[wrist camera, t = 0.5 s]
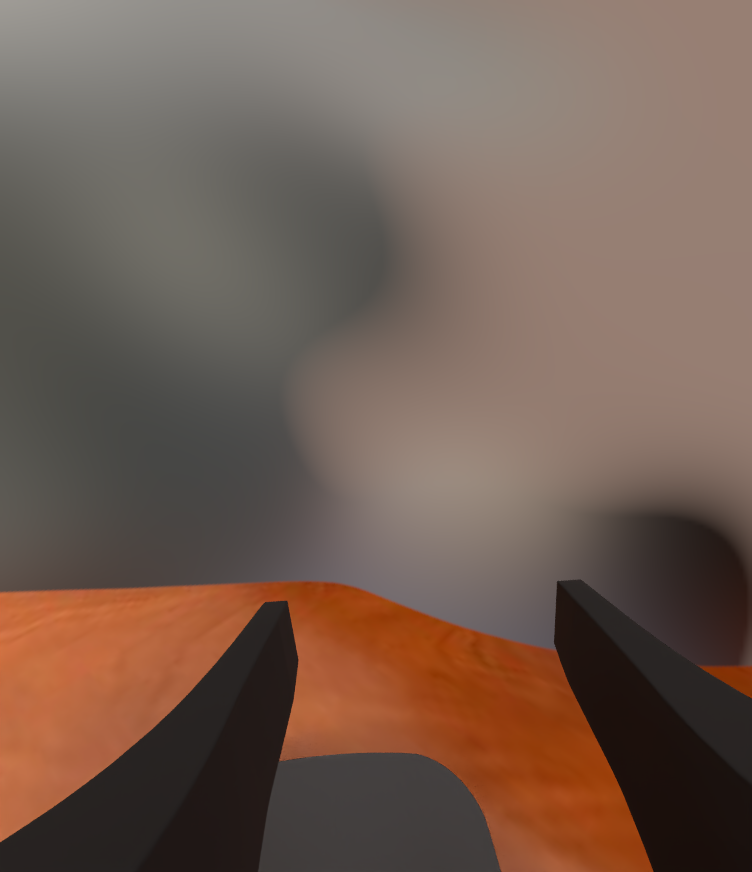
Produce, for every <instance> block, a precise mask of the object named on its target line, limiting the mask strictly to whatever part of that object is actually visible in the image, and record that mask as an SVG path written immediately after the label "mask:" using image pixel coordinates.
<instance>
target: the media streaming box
mask: <svg viewBox="0 0 752 872" xmlns="http://www.w3.org/2000/svg"><path fill="white" fill-rule="evenodd" d="M258 872H501V870H500V867H499V863H498V860H497V856H496V853H495V849H494V846H493V842H492V839H491V836H490V832H489V829H488V826H487V823H486V819H485V817H484V815H483V813H482V810H481V808H480V807H479V805H478V803H477V801H476V800H475V798H474V797H473V795H472V794H471V792H470V791H469V790H468V788H467V787H466V786H465V785H464V784H463V782H462V781H461V780H460V779H459V778H458V777H457V776H456V775H455V774H453V773H452V772H451V771H450V770H449V769H447V768H446V767H444V766H443V765H441V764H440V763H438V762H436V761H434V760H432V759H430V758H428V757H425V756H422V755H419V754H409V753H353V754H337V755H325V756H316V757H307V758H300V759H293V760H286V761H280V762H279V763H278V767H277V771H276V775H275V779H274V783H273V787H272V792H271V796H270V801H269V806H268V811H267V817H266V823H265V830H264V836H263V843H262V849H261V856H260V862H259V870H258Z"/></svg>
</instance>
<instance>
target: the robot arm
mask: <svg viewBox="0 0 752 872" xmlns="http://www.w3.org/2000/svg"><path fill="white" fill-rule="evenodd" d="M554 644H555V647H556V650H557V652H558V655H559V658H560V661H561V664H562V667H563V669H564V672H565V675H566V677H567V680H568V682H569V684H570V686H571V689H572V691H573V693H574V695H575V697H576V699H577V701H578V703H579V705H580V707H581V709H582V711H583V713H584V715H585V717H586V719H587V721H588V723H589V725H590V727H591V729H592V731H593V733H594V735H595V737H596V739H597V741H598V743H599V745H600V747H601V749H602V751H603V753H604V755H605V757H606V759H607V761H608V763H609V765H610V767H611V769H612V771H613V773H614V775H615V777H616V779H617V781H618V784H619V786H620V788H621V790H622V792H623V795H624V797H625V800H626V802H627V805H628V807H629V810H630V812H631V815H632V817H633V820H634V822H635V825H636V827H637V830H638V832H639V835H640V837H641V840H642V842H643V845H644V847H645V850H646V853H647V855H648V858H649V861H650V863H651V866H652V868H653V871H654V872H752V699H751V698H750V697H748V696H746V695H744V694H743V693H741V692H739V691H737V690H736V689H734V688H732V687H731V686H729V685H727V684H726V683H724V682H722V681H721V680H719V679H717V678H716V677H714V676H712V675H711V674H709V673H707V672H706V671H704V670H703V669H701V668H700V667H698V666H696V665H695V664H693V663H692V662H690V661H689V660H687V659H686V658H684V657H683V656H682V655H680V654H679V653H677V652H675V651H674V650H672V649H671V648H670V647H668V646H667V645H665V644H664V643H663V642H661V641H660V640H658V639H657V638H656V637H654V636H653V635H652V634H650V633H649V632H647V631H646V630H645V629H643V628H642V627H641V626H639V625H638V624H637V623H635V622H634V621H633V620H631V619H630V618H629V617H628V616H626V615H625V614H624V613H622V612H621V611H620V610H619V609H617V608H616V607H615V606H614V605H612V604H611V603H610V602H608V601H607V600H606V599H605V598H603V597H602V596H601V595H600V594H598V593H597V592H596V591H595V590H593V589H592V588H591V587H590V586H588V585H587V584H586V583H584V582H583V581H582V580H568V581H557V596H556V616H555V635H554ZM297 668H298V655H297V650H296V645H295V639H294V634H293V629H292V623H291V618H290V613H289V607H288V602H287V601H276V602H265V603H264V604H263V605H262V606H261V607H260V609H259V610H258V611H257V613H256V614H255V615H254V616H253V618H252V619H251V620H250V622H249V623H248V624H247V625H246V627H245V628H244V629H243V631H242V632H241V633H240V634H239V636H238V637H237V638H236V639H235V641H234V642H233V643H232V644H231V646H230V647H229V648H228V649H227V650H226V652H225V653H224V654H223V655H222V657H221V658H220V659H219V660H218V661H217V663H216V664H215V665H214V666H213V667H212V668H211V670H210V671H209V672H208V673H207V674H206V675H205V676H204V677H203V678H202V680H201V681H200V682H199V683H198V684H197V685H196V686H195V687H194V688H193V690H192V691H191V692H190V693H189V694H188V695H187V696H186V697H185V698H184V699H183V700H182V701H181V702H180V703H179V704H178V705H177V706H176V707H175V708H174V709H173V710H172V711H171V712H170V713H169V714H168V715H167V716H166V717H165V718H164V719H163V720H162V721H161V722H160V723H159V724H157V725H156V726H155V727H154V728H153V729H152V730H151V731H150V732H149V733H147V734H146V735H145V736H144V737H143V738H142V739H140V740H139V741H138V742H137V743H136V744H135V745H133V746H132V747H131V748H130V749H129V750H127V751H126V752H125V753H124V754H123V755H122V756H120V757H119V758H118V759H117V760H116V761H114V762H113V763H112V764H111V765H110V766H108V767H107V768H106V769H104V770H103V771H102V772H101V773H99V774H98V775H97V776H95V777H94V778H93V779H91V780H90V781H89V782H88V783H86V784H85V785H83V786H82V787H81V788H79V789H78V790H77V791H75V792H74V793H73V794H71V795H70V796H68V797H67V798H66V799H64V800H63V801H62V802H60V803H59V804H57V805H56V806H54V807H53V808H52V809H50V810H49V811H47V812H46V813H44V814H43V815H41V816H40V817H38V818H37V819H35V820H34V821H32V822H31V823H29V824H28V825H26V826H25V827H23V828H22V829H20V830H19V831H17V832H16V833H14V834H12V835H11V836H9V837H8V838H6V839H5V840H3V841H2V842H0V872H258V870H259V862H260V856H261V849H262V843H263V836H264V830H265V823H266V817H267V811H268V806H269V801H270V796H271V792H272V787H273V783H274V779H275V775H276V771H277V767H278V763H279V758H280V754H281V750H282V746H283V742H284V738H285V734H286V729H287V725H288V721H289V717H290V713H291V708H292V704H293V699H294V692H295V685H296V676H297Z"/></svg>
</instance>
